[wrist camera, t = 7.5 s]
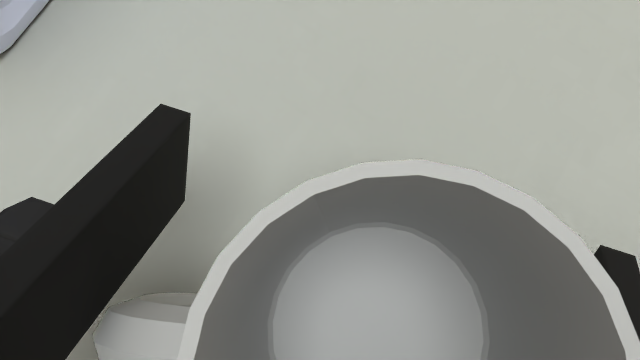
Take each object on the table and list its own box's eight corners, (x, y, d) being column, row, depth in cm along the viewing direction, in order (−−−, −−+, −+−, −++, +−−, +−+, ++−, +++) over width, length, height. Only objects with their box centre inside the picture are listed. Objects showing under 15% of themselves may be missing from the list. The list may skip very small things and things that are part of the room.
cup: (491, 468, 17) (654, 686, 8) (157, 434, 17) (-38, 603, 9) (499, 222, 18) (649, 175, 9) (185, 198, 18) (38, 131, 10)
